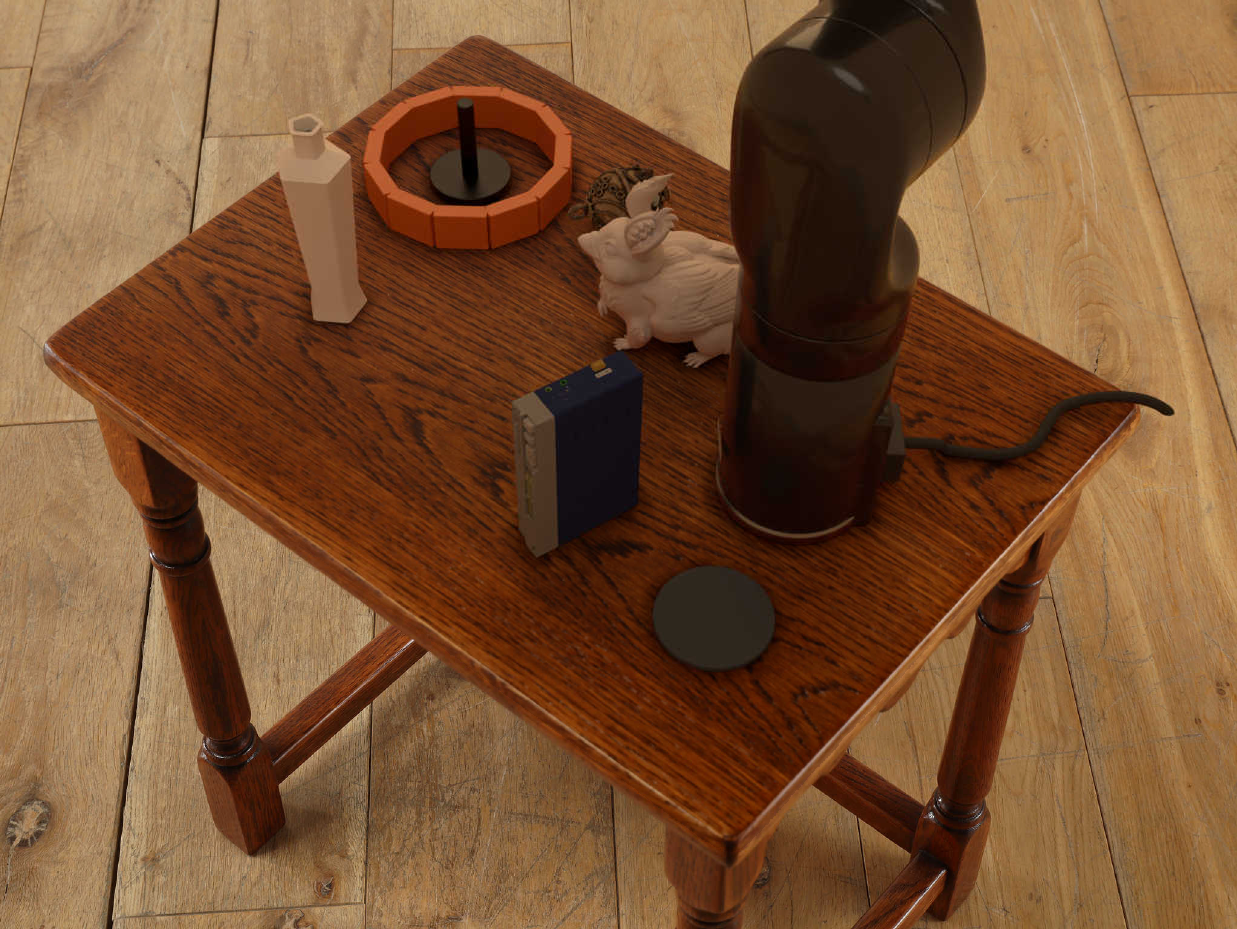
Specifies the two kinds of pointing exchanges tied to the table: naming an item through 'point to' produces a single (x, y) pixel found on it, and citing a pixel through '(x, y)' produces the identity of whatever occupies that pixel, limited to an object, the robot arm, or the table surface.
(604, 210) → the pendant
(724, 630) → the coaster
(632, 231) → the figurine
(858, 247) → the robot arm
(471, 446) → the table surface
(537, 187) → the hoop
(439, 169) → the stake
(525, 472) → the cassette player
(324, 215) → the perfume bottle
